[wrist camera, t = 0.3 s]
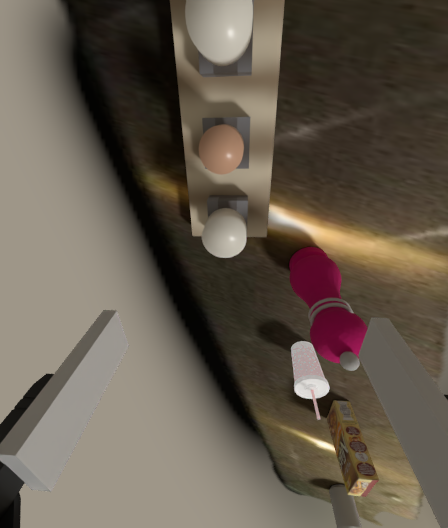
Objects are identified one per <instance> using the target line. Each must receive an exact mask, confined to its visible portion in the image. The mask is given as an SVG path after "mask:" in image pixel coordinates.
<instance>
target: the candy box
mask: <svg viewBox="0 0 448 528" xmlns="http://www.w3.org/2000/svg"><path fill="white" fill-rule="evenodd" d="M327 422H328V425H329V429H330V433H331V436H332V440H333V444H334V447H335V451H336V454H337V458H338V462H339V465H340V469H341V473H342V476H343V480H344V484H345V487H346V491H347V495H353V496H365V497H366V496H367V495H368V493H369V492H370V490H371V489H372V488H373V487H374V485H375V484H376V482H378V481H379V478H378V476H377V473H376V470H375V468H374V465H373V462H372V460H371V457H370V454H369V452H368V449H367V446H366V444H365V441H364V438H363V436H362V433H361V430H360V428H359V425H358V422H357V420H356V417H355V414H354V412H353V409H352V406H351V404H350V401H337V400H334V401H333V403H332V406H331V408H330V411H329V414H328V416H327Z"/></svg>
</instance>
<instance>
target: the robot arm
mask: <svg viewBox="0 0 448 528" xmlns="http://www.w3.org/2000/svg"><path fill="white" fill-rule="evenodd" d="M128 347H129V345H128V342H127V339H126V336H125V333H124V330H123V327H122V324H121V321H120V318H119V315H118V312H117V311H113V310H104V311H103V312H102V313H101V314H100V316H99V317H98V318H97V319H96V321H95V322H94V324H93V325H92V326H91V327H90V328H89V330H88V331H87V332H86V334H85V335H84V336H83V338H82V339H81V340H80V341H79V343H78V344H77V345H76V347H75V348H74V349H73V351H72V352H71V353H70V354H69V356H68V357H67V358H66V360H65V361H64V362H63V363H62V365H61V366H60V367H59V369H58V370H57V371H56V372H55V374H46V375H44V376H43V377H42V378H41V379H39V380H38V381H37V382H36V383H34V384H33V386H32V387H31V388H30V389H29V390H28V392H27V393H26V394H25V395H24V396H23V399H21V400H20V401H19V402H18V404H17V405H16V406H15V409H14V410H12V411H11V412H10V413H9V415H8V416H7V417H6V418H5V419H4V421H3V422H2V423H1V424H0V528H20V505H21V498H20V494H19V491H20V489H21V488H22V486H23V484H24V483H25V484H26V485H27V486H28V487H29V488H30V489H31V490H40V491H52V489H53V487H54V485H55V483H56V482H57V480H58V478H59V476H60V474H61V472H62V470H63V468H64V466H65V465H66V463H67V461H68V459H69V457H70V455H71V454H72V452H73V450H74V448H75V446H76V444H77V442H78V440H79V439H80V437H81V435H82V433H83V431H84V429H85V427H86V425H87V424H88V422H89V420H90V418H91V416H92V414H93V412H94V410H95V409H96V406H97V405H98V403H99V401H100V399H101V397H102V395H103V393H104V392H105V390H106V388H107V386H108V384H109V382H110V380H111V379H112V377H113V375H114V373H115V371H116V369H117V367H118V365H119V364H120V362H121V360H122V358H123V356H124V354H125V352H126V351H127V348H128ZM358 356H359V359H360V361H361V363H362V365H363V367H364V369H365V371H366V373H367V375H368V377H369V379H370V381H371V384H372V386H373V388H374V390H375V392H376V394H377V396H378V398H379V400H380V402H381V404H382V406H383V409H384V411H385V413H386V415H387V417H388V419H389V421H390V423H391V425H392V427H393V429H394V431H395V434H396V436H397V438H398V440H399V442H400V444H401V446H402V448H403V450H404V452H405V454H406V456H407V459H408V461H409V463H410V465H411V467H412V469H413V471H414V473H415V475H416V477H417V479H418V481H419V483H420V486H421V488H422V490H423V492H424V494H425V496H426V498H427V500H428V502H429V504H430V506H431V508H432V510H433V513H434V515H435V517H436V519H437V521H438V523H439V525H440V527H441V528H448V395H443V393H442V392H441V390H440V389H439V388H438V386H437V385H436V384H435V382H434V381H433V379H432V378H431V377H430V375H429V374H428V373H427V371H426V370H425V368H424V367H423V366H422V364H421V363H420V362H419V360H418V359H417V357H416V356H415V355H414V353H413V352H412V351H411V349H410V348H409V346H408V345H407V344H406V342H405V341H404V340H403V338H402V337H401V335H400V334H399V333H398V331H397V330H396V329H395V327H394V326H393V324H392V323H391V322H390V320H389V319H388V318H371V321H370V323H369V326H368V329H367V332H366V335H365V338H364V340H363V343H362V346H361V349H360V352H359V354H358Z"/></svg>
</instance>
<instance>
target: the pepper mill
mask: <svg viewBox="0 0 448 528" xmlns="http://www.w3.org/2000/svg"><path fill="white" fill-rule="evenodd" d="M289 268H290V271H291V273H290V283H291V286H292V288H293V290H294V292H295V293H296V294H297V295H298V296H299V297H300V298H301V299H302V300H304V301H305V302H306V303H307V305H308V306H309V308H310V311H309V320H310V323H311V329H310V338H311V341H312V344H313V346H314V348H315V350H316V351H317V352H318V353H319V354H320V355H321V356H322V357H324V358H325V359H327V360H329V361H332V362H335V363H340V364H341V365H342V366H343V368H345V369H347V370H350V371H353V370H356V369H357V368H358V367H359V363H360V362H359V356H358V354H359V352H360V349H361V346H362V343H363V340H364V338H365V335H366V332H367V329H368V328H367V326H366V324H365V323H364V322H363V320H362V319H361V318H360V317H358V316H357V315H356V314H354V313H353V311H352V309H351V307H350V305H349V304H348V303H347V302H346V301H344V300H342V299H341V296H340V286H341V274H340V271H339V269H338V267H337V265H336V264H335V263H334V262H333V261H332V260H331V259H329V258H328V257H327V255H326V253H325V252H324V251H323V250H321V249H319V248H316V247H306V248H302V249H300V250H299V251H297V252H296V253H295V254H294V255H293V256H292V257H291V259H290V262H289Z"/></svg>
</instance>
